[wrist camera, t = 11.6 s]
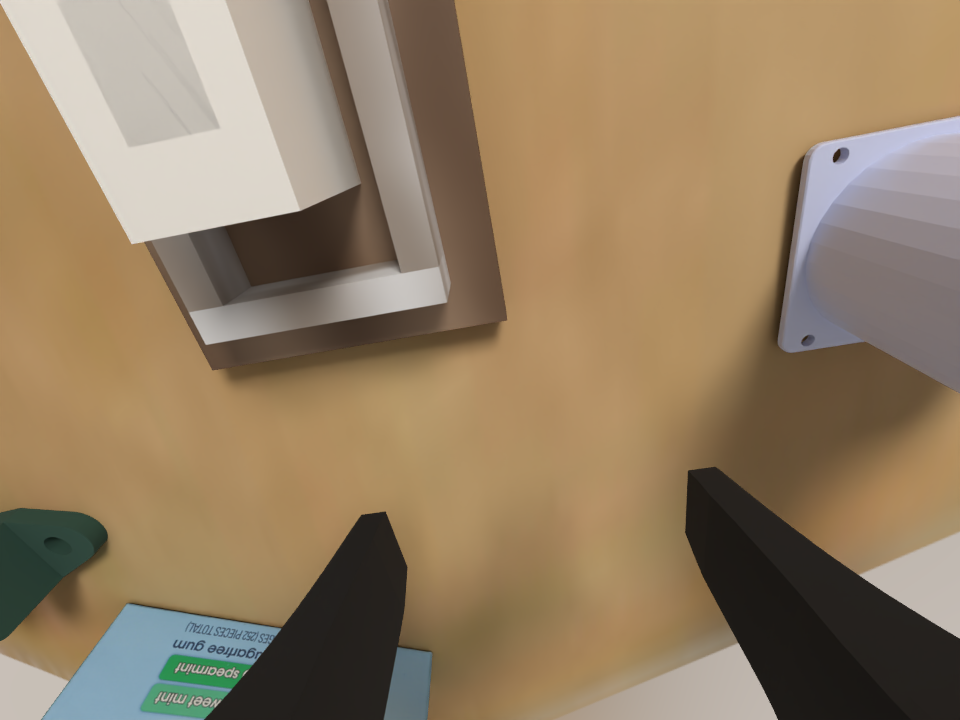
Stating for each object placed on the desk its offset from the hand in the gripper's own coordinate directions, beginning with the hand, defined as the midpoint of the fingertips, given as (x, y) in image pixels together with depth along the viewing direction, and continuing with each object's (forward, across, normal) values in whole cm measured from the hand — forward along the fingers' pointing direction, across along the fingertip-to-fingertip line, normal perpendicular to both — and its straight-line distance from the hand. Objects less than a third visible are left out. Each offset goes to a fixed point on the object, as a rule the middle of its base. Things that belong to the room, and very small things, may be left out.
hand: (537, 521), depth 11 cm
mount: (+10, +29, +7) cm, 31 cm away
